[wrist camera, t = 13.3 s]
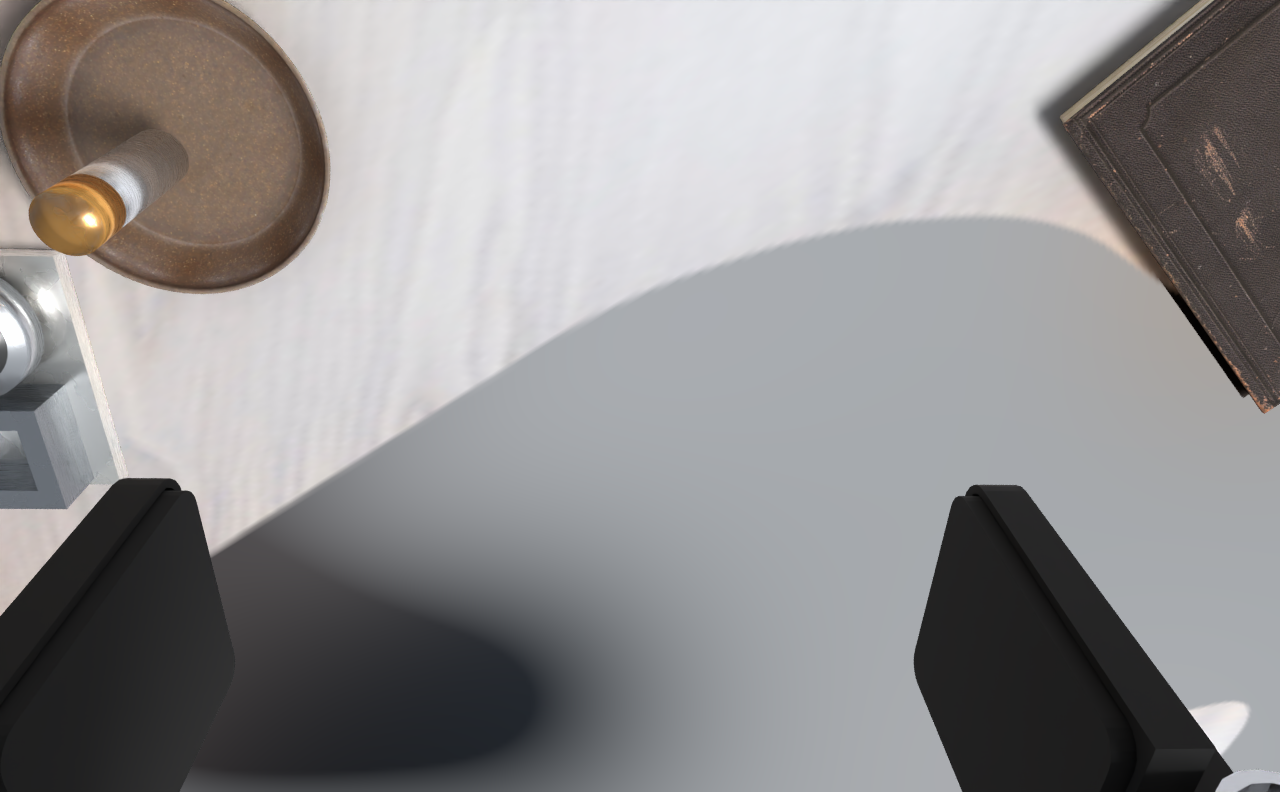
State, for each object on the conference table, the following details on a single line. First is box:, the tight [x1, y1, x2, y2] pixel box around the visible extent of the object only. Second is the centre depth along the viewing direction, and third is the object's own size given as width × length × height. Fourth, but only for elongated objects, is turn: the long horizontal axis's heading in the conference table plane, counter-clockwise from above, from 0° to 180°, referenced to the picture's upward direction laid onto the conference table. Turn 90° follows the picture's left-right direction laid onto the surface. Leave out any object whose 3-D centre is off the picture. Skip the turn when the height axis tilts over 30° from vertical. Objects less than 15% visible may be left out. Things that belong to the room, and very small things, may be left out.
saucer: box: [0, 0, 330, 294], centre depth 42 cm, size 15×15×3 cm
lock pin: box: [29, 129, 189, 256], centre depth 38 cm, size 3×3×9 cm
